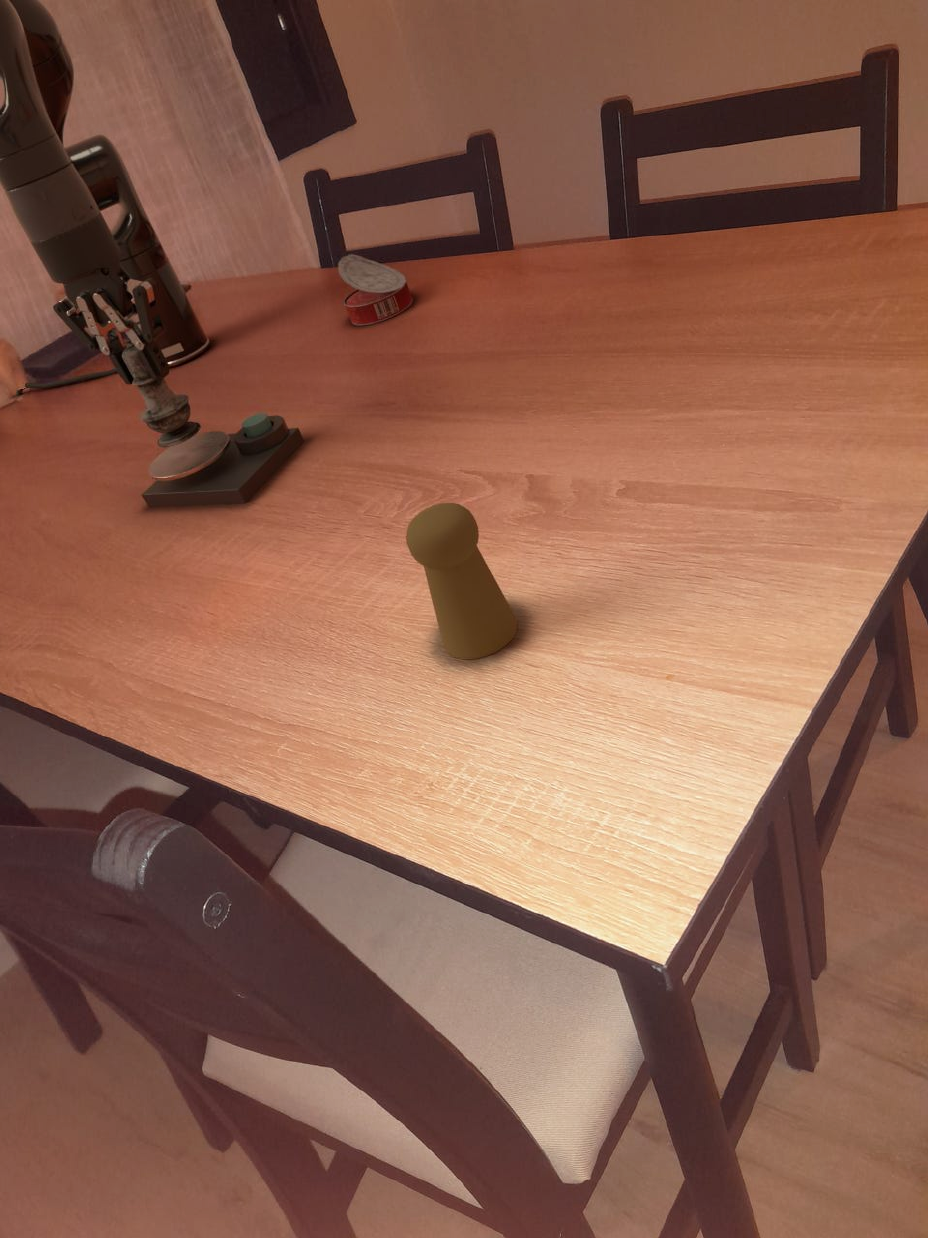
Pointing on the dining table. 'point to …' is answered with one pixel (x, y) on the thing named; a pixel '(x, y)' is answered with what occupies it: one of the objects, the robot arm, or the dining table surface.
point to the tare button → (256, 425)
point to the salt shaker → (160, 403)
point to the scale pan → (189, 456)
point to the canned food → (373, 290)
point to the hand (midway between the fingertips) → (148, 378)
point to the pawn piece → (460, 582)
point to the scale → (231, 470)
